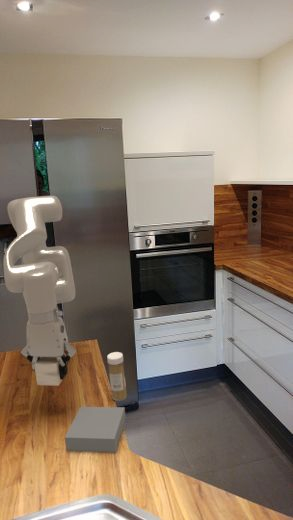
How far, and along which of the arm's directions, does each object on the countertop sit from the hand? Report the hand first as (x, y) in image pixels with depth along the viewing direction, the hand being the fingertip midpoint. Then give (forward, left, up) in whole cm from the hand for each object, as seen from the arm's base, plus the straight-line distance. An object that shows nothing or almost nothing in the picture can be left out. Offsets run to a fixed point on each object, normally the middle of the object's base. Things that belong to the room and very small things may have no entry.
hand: (51, 376), depth 97 cm
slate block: (+9, +14, -11) cm, 20 cm away
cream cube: (0, 0, -1) cm, 1 cm away
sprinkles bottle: (-7, +16, -11) cm, 21 cm away
